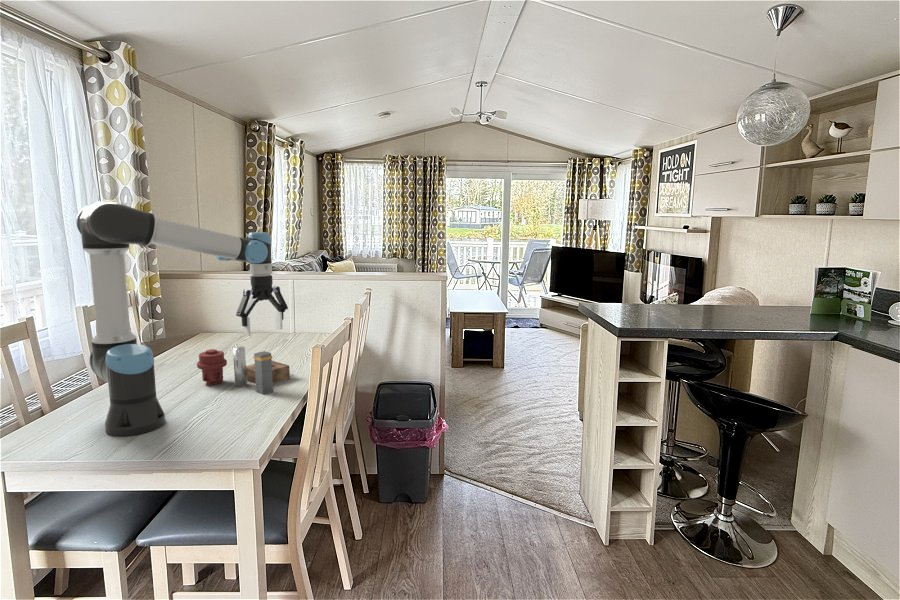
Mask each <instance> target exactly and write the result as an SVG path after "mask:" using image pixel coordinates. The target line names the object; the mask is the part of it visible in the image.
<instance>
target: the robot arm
mask: <svg viewBox="0 0 900 600" xmlns="http://www.w3.org/2000/svg"><path fill="white" fill-rule="evenodd" d="M75 222H76V228H77V230H78V232H79V233H80V235H81V242H82V243H81V244H82V249H83V250H84V251H85V252H86V253H87V254H89V261H90V271H91V284H92V293H93V305H94V315H95V316H94V317H95V327H96V335H95V336H94V337H93V338H92V339H91V349H92V350H91V352H90V355H89V359H88V360H89V365H90V369H91V370H92V372H93V373H94V375H95V376H97V377H99V378H100V379H101V380H104V381H105V382H106V383H107V384H108V393H109V394H108V395H109V403H110V404H109V407H108V410H107V411H108V412H107V415H106V419H105V422H104V429H105V433H106V434H107V435H109V436H114V437H117V436H118V437H127V436H135V435H136V436H137V435H142V434H145V433H148V432H149V433H150V432H152V431H154V430H157V429H158V428H160V427H162V426H163V425H164V424H165V423H166V415H165V414H166V413H165V412H164V409H163V408H162V406H161V404H160V402H159V400H158V397H157V389H156V388H157V387H156V376H155V375H156V374H155V358H154V354H153V350H152V349H151V348H150V347H149V346H148V345H145V344H138V342H137V341H138V339H137V335H136V334H134V333H133V332H132V331H131V326H130V325H131V324H130V323H131V321H130V314H129V313H130V312H129V299H128V297H129V296H128V289H127V288H128V287H127V274H126V264H125V263H126V262H125V254H126V252H127V251H128V250H130V245H138V246H144V247H148V246H150V245H157V246H162V247H165V248H166V247H168V248H171V249H179V250H183V251H188V252H193V253H197V254H198V253H199V254H205V255H209V256H214V257H216V259H217V260H218V261H225V262H228V261H235V262H244V263H248V264H249V274H250V275H251V276H250V286H251V289H243V292H242V297H241V300H240V303H239V305H238V308H237V310H236V314H235V316H236V317H240V319H241V326H242V327H243V333H244V336H249V337H250V336H251V334H252V333H251V318H250V317H249V316H250V314H251V312H252V311H253V309H254V308H255V306H256V304H257V303H259V301H261V302H262V301H269V303H271V305H273V307H274V308H275V309H276V311H275V324H276V326H275V327H276V328H275V329H276V330H277V329H278V330H283V321H284V319H285V318H284V313H285V312H286V310H288V309H289V307H288V304H287V303H286V301H285V299H284V296H283V295H282V292H281V287H280V286H277V285H274V286H273V275H272V274H273V263H272V262H273V261H272V259H273V258H272V239H271V235H270V233H269V232H264V231H263V232H262V231H261V232H260V231H256V232H255V231H254V232H253V231H251V232H249V233H248V237H240V236H236V235H233V234H227V233H223V232H219V231H215V230H210V229H206V228H201V227H197V226H194V225H189V224H184V223H179V222H175V221H172V220H171V221H170V220H167V219H163V218H162V219H161V218H157V216H156V215H155V214H154V213H152V212H149V211H143V210H141V209H137V208H134V207H132V206H129V205H126V204H123V203H121V202H115V201H108V202H107V201H95V202H92V203H89V204H87V205H85V206H84V207H82V209H80V211H79V212H78V214H77V216H76V221H75ZM273 294H274V295H273Z"/></svg>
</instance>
